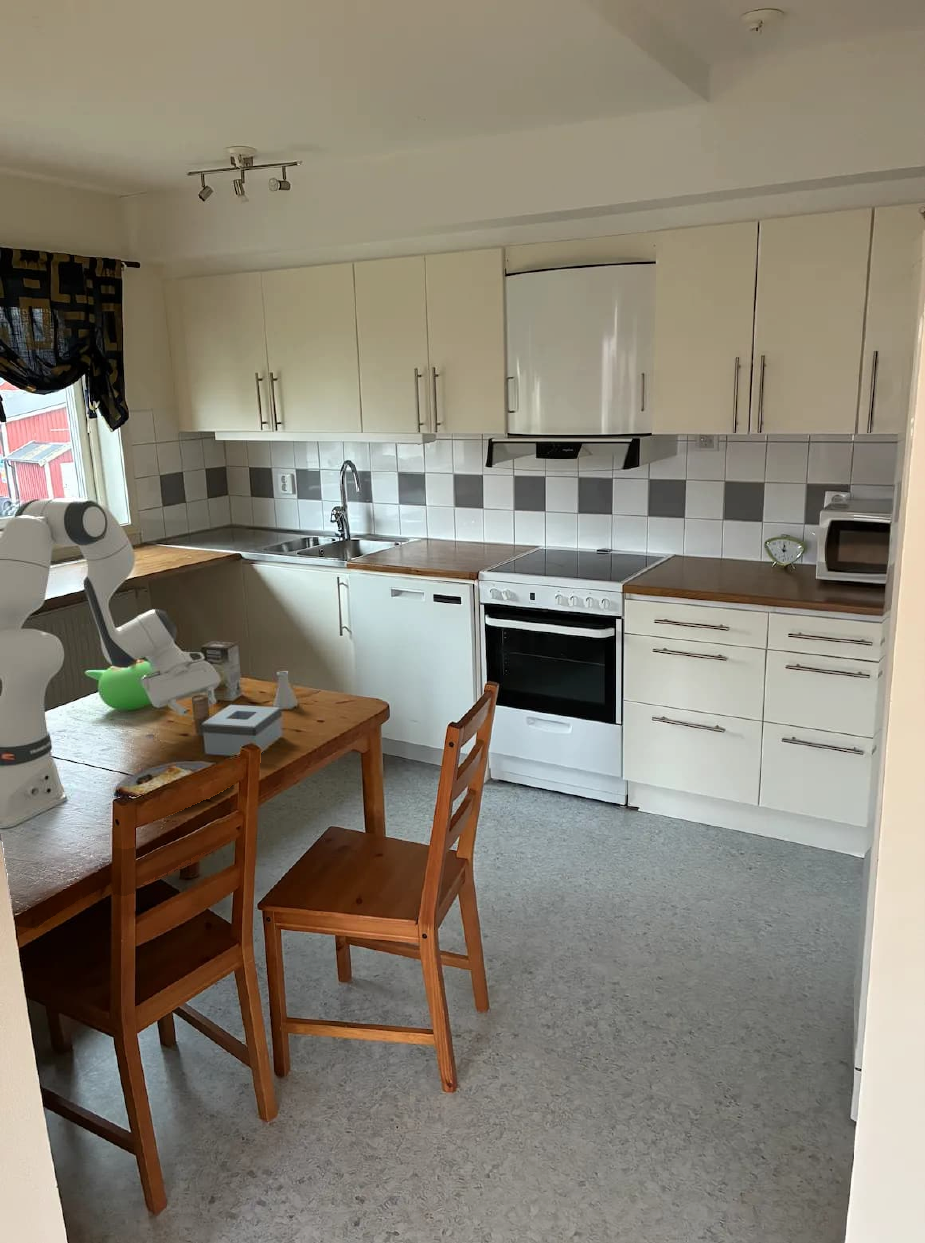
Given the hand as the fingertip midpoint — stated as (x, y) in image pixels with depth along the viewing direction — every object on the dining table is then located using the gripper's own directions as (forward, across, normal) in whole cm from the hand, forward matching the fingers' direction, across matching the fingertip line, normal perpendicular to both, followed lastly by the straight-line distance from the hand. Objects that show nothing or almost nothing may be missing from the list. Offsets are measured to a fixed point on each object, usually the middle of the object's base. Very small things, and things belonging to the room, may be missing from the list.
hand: (199, 708), depth 246 cm
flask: (+7, +27, +3) cm, 28 cm away
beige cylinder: (+5, 0, +4) cm, 7 cm away
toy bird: (-20, +3, +30) cm, 36 cm away
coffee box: (-9, +23, +18) cm, 31 cm away
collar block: (+17, 0, -7) cm, 18 cm away
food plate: (+22, -27, -12) cm, 37 cm away
